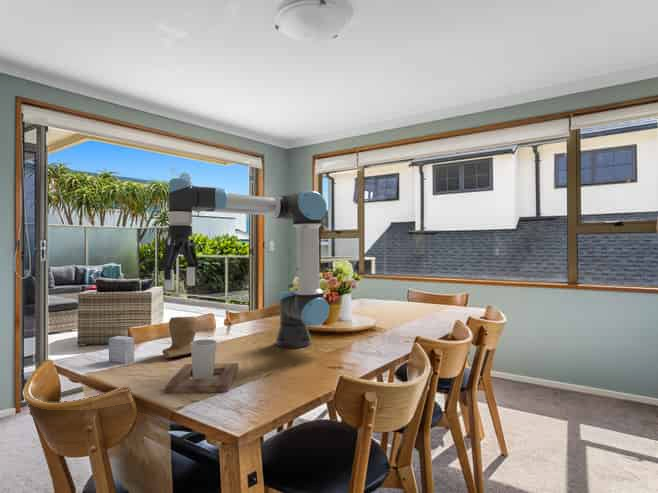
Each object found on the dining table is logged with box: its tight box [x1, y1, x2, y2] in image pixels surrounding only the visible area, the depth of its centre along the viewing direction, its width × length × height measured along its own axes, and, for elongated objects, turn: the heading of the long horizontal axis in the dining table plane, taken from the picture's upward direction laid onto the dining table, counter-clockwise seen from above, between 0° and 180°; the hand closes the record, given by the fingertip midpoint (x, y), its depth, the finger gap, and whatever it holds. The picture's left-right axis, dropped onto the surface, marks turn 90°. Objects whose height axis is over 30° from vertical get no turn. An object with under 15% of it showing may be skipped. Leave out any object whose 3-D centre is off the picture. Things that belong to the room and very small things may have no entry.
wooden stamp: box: [161, 316, 197, 359], centre depth 160 cm, size 15×12×15 cm
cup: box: [190, 338, 218, 380], centre depth 130 cm, size 8×8×12 cm
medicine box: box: [108, 335, 135, 364], centre depth 150 cm, size 8×4×9 cm, turn 71°
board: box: [164, 362, 239, 394], centre depth 130 cm, size 18×22×2 cm
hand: (180, 287), depth 138 cm, fingers open, 13 cm apart
